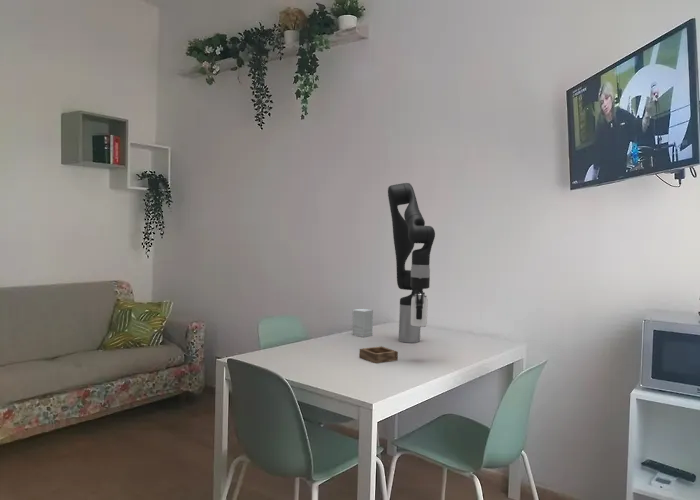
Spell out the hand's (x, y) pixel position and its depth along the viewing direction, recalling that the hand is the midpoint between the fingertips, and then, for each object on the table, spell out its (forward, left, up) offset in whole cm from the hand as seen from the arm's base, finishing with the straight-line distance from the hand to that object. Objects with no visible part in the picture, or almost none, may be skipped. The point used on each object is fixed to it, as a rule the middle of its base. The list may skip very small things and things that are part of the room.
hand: (418, 317), depth 222 cm
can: (0, 0, -3) cm, 3 cm away
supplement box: (-10, -54, -18) cm, 58 cm away
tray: (+12, -10, -17) cm, 23 cm away
